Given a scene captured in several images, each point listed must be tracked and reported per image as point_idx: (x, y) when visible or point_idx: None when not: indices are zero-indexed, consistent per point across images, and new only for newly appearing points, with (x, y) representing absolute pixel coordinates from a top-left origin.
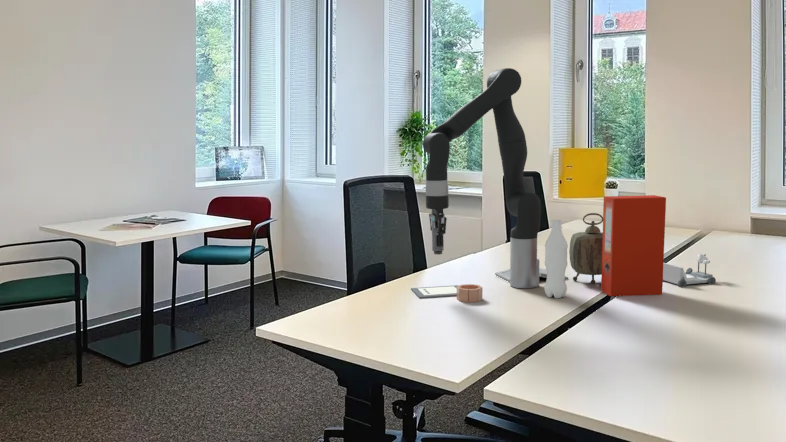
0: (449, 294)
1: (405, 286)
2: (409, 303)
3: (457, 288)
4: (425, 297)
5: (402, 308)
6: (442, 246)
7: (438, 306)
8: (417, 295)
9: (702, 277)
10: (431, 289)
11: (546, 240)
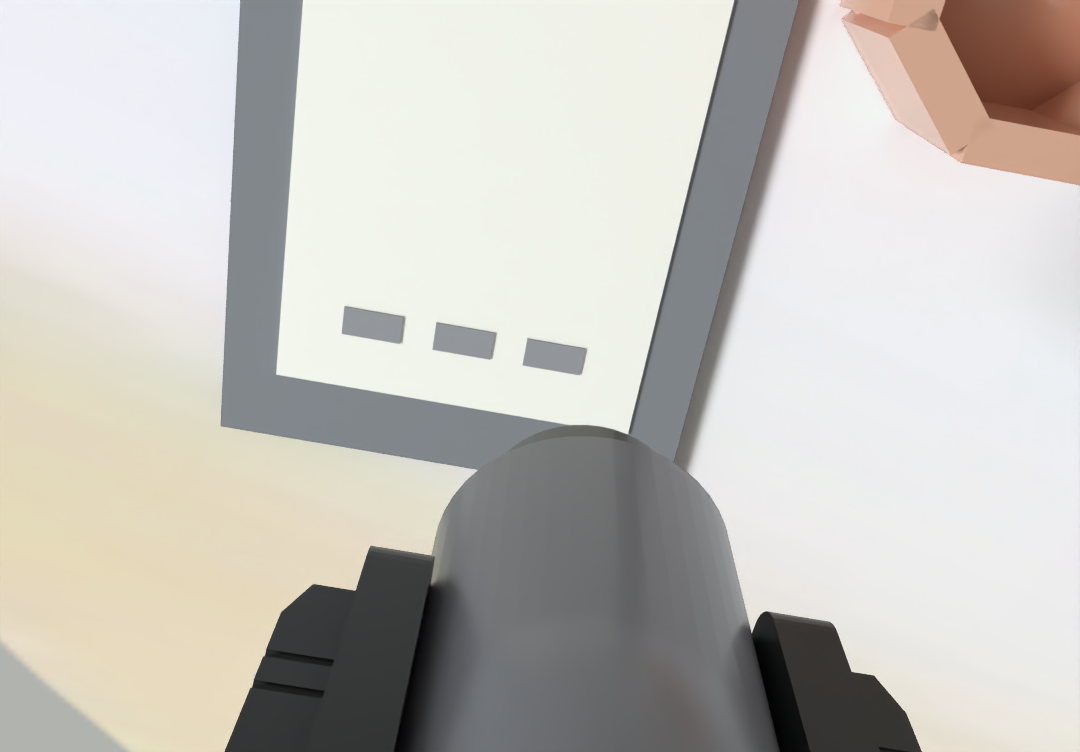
0: (731, 147)
1: (45, 409)
2: None
3: (997, 166)
4: (679, 436)
5: (918, 741)
6: (736, 581)
7: (1067, 456)
8: None
9: None
10: (391, 245)
11: None
